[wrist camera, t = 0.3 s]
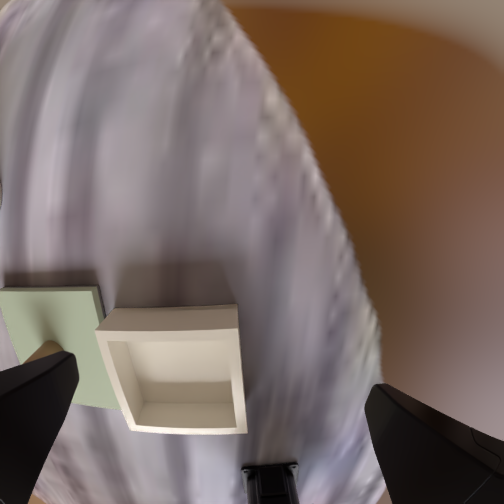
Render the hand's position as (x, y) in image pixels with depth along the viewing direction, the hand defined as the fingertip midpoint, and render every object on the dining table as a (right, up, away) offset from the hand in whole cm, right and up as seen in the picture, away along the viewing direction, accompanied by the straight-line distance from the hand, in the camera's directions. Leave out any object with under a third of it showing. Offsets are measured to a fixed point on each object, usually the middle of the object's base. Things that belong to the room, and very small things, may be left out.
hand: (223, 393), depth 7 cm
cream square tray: (-5, -5, +15) cm, 17 cm away
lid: (-17, -5, +14) cm, 23 cm away
